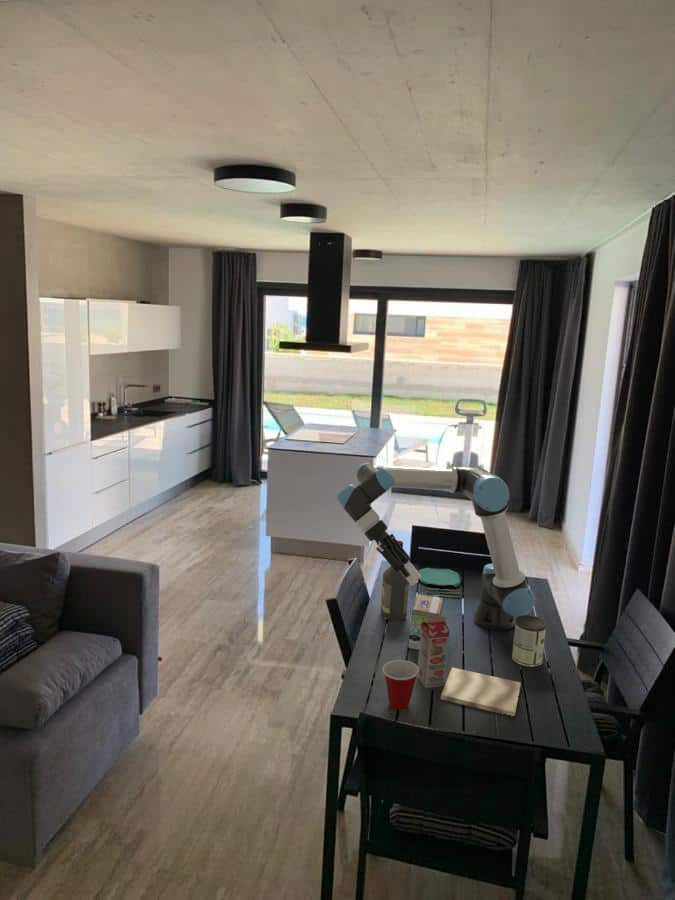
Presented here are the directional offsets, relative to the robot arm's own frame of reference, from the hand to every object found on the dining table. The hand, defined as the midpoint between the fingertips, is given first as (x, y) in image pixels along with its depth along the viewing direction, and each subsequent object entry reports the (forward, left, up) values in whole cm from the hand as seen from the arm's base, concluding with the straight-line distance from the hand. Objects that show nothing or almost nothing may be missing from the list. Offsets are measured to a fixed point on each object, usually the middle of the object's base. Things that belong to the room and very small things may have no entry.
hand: (416, 581), depth 222 cm
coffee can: (-41, +3, -28) cm, 50 cm away
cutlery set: (-32, -64, -29) cm, 77 cm away
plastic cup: (+11, +26, -28) cm, 40 cm away
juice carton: (-3, +14, -28) cm, 32 cm away
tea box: (-9, -13, -28) cm, 32 cm away
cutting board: (-17, +22, -28) cm, 39 cm away
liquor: (-3, -34, -28) cm, 44 cm away
